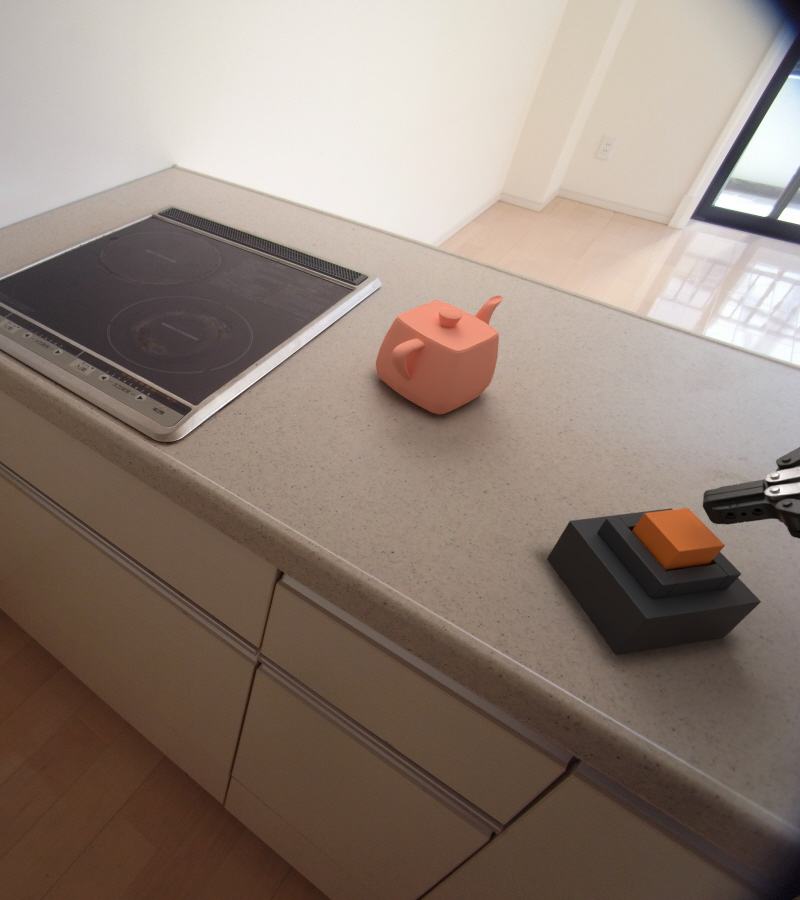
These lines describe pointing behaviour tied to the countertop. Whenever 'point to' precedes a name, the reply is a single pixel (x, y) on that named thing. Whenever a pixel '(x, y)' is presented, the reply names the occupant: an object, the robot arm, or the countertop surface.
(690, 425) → the countertop surface
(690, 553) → the key
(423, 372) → the teapot
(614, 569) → the push button box
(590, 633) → the countertop surface
